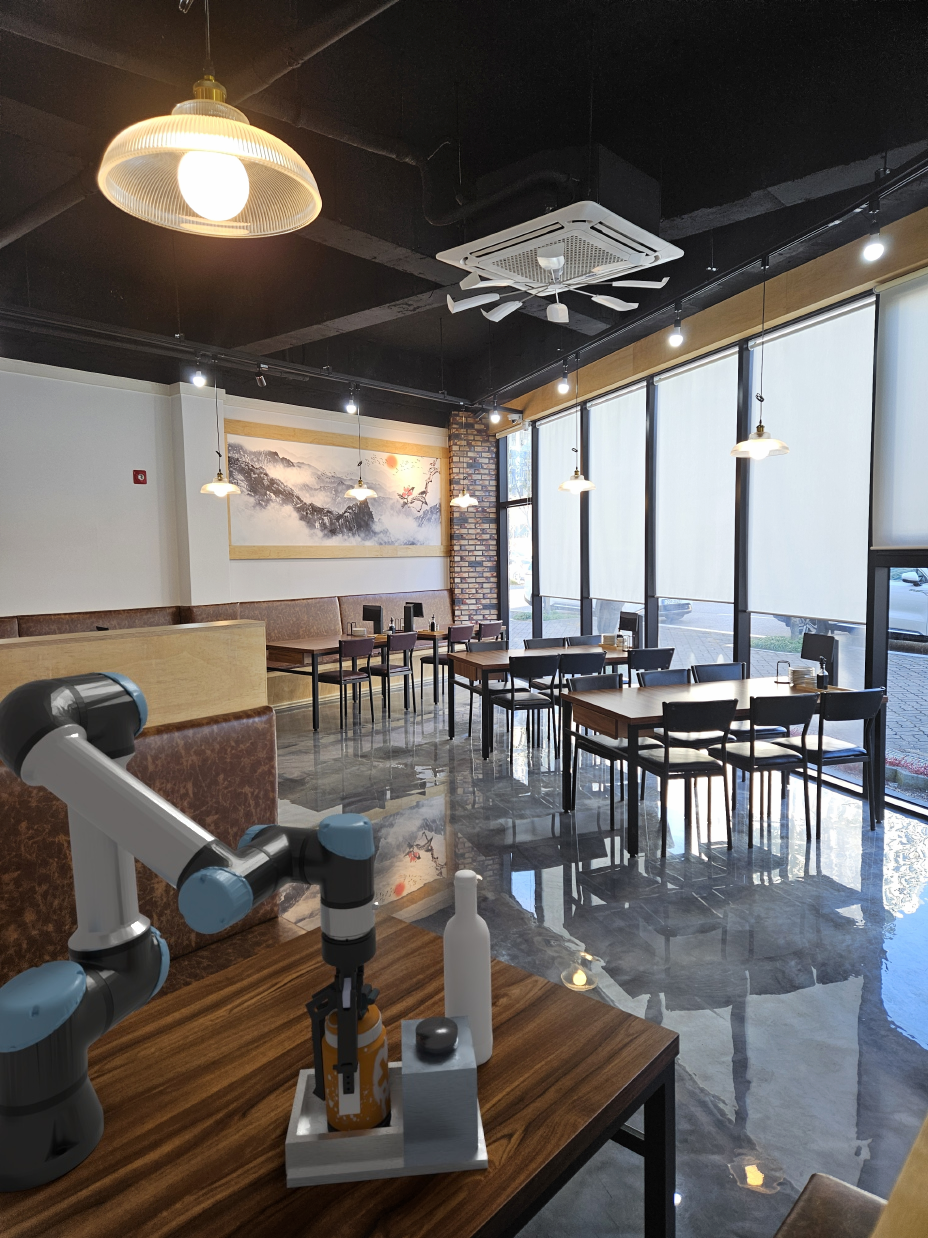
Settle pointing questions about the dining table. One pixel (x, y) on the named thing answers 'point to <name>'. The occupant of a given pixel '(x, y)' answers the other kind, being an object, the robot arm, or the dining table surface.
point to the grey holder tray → (398, 1115)
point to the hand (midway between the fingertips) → (352, 1085)
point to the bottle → (469, 966)
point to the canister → (369, 1056)
